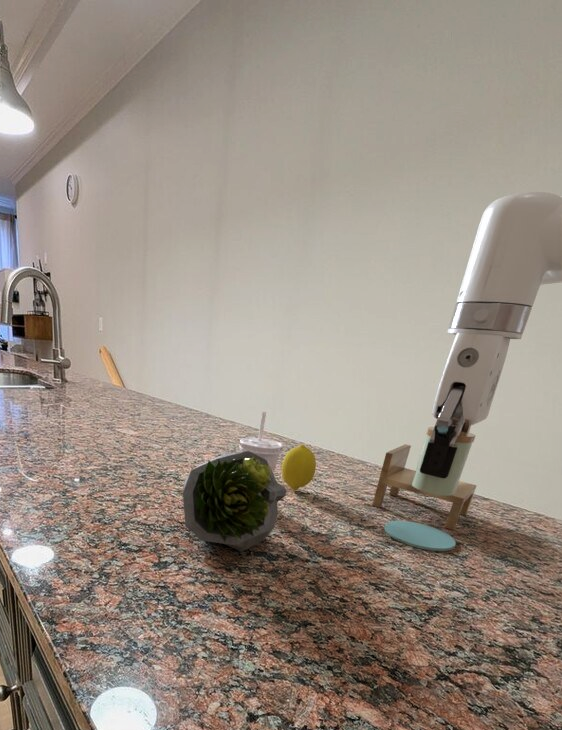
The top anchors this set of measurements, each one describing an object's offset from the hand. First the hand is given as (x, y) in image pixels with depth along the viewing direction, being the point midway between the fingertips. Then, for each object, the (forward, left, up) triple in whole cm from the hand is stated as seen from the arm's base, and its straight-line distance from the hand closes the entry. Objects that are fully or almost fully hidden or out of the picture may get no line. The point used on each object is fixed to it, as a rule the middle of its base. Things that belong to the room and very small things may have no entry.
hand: (439, 470), depth 59 cm
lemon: (+21, -3, -10) cm, 23 cm away
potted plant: (+16, +23, -10) cm, 30 cm away
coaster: (0, 0, -10) cm, 10 cm away
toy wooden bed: (+3, -12, -10) cm, 16 cm away
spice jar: (0, 0, -3) cm, 3 cm away
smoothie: (+22, +9, -10) cm, 26 cm away
